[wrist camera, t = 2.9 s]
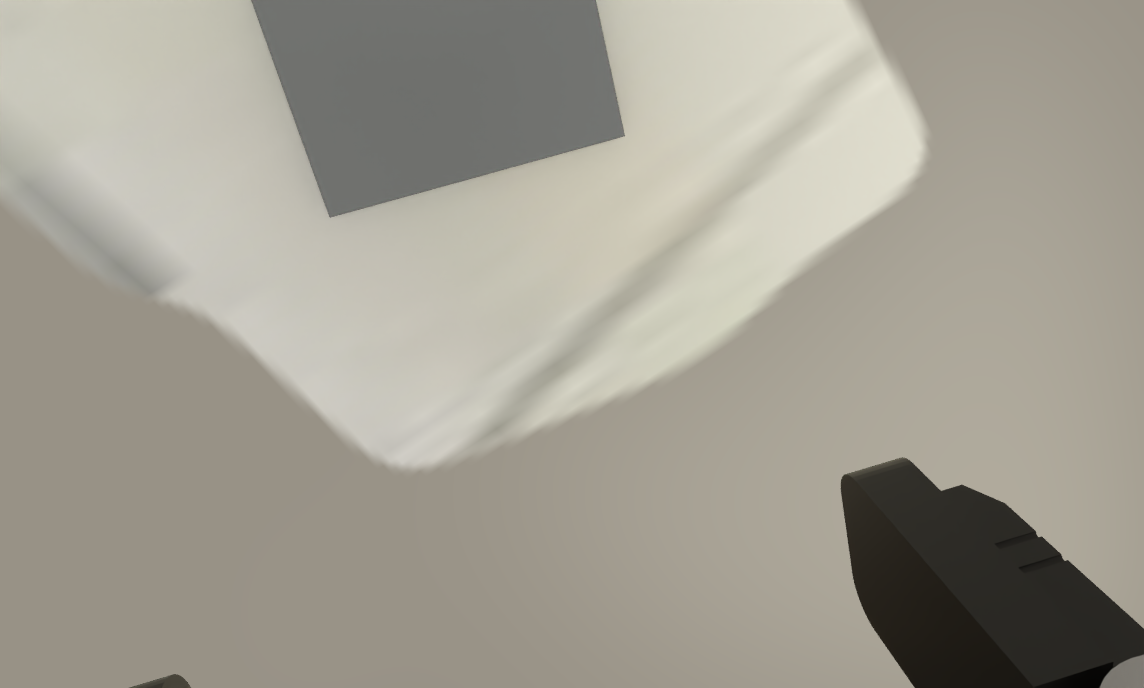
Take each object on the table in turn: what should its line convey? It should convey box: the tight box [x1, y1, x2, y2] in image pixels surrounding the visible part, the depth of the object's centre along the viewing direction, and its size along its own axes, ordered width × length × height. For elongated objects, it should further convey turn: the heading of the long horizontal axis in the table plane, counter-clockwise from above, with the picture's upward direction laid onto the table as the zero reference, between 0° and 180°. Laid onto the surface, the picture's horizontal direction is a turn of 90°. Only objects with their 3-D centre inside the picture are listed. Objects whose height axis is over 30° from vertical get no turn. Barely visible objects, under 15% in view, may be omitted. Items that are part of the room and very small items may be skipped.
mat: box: [251, 0, 625, 217], centre depth 35 cm, size 9×12×1 cm
